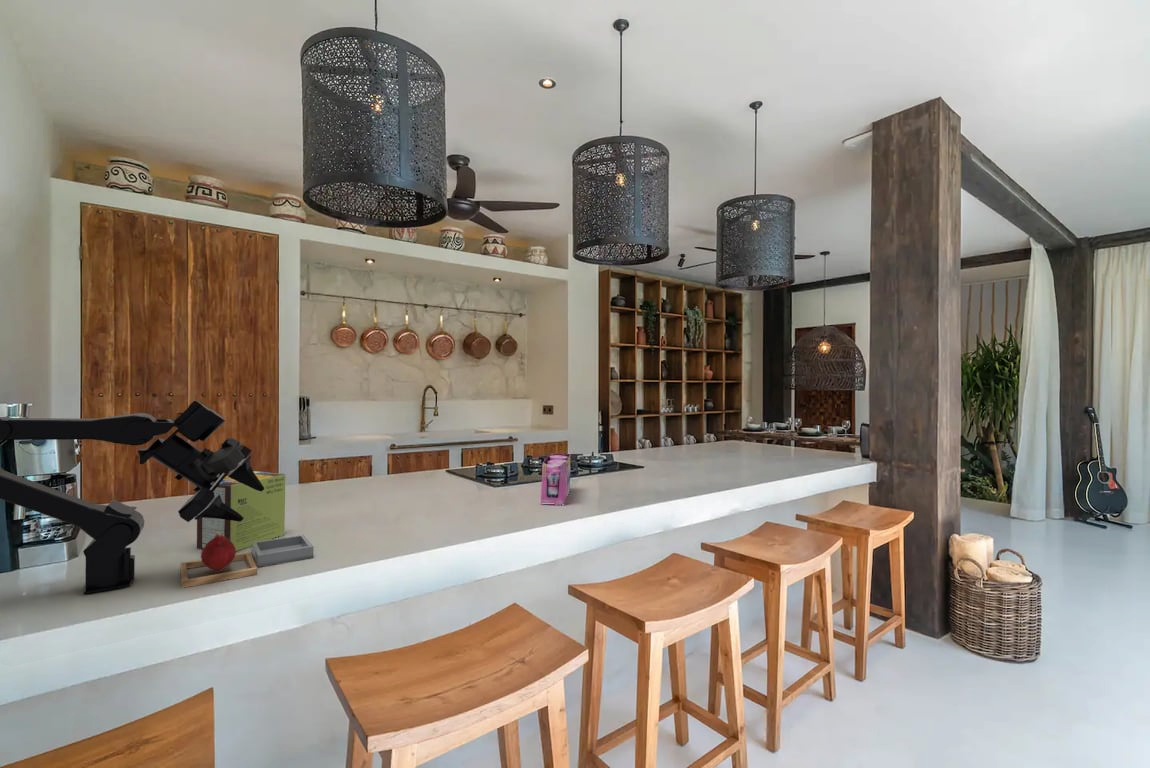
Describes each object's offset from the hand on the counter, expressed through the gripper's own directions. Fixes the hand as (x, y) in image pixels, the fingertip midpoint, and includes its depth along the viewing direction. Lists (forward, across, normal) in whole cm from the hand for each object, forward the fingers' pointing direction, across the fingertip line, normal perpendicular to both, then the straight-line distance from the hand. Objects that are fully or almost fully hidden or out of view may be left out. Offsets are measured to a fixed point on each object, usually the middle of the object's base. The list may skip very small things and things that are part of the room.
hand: (253, 504), depth 112 cm
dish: (+13, -1, +6) cm, 14 cm away
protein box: (+8, +8, +20) cm, 23 cm away
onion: (+4, -10, +9) cm, 14 cm away
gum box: (+76, +49, -23) cm, 93 cm away
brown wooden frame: (+4, -10, +9) cm, 14 cm away
